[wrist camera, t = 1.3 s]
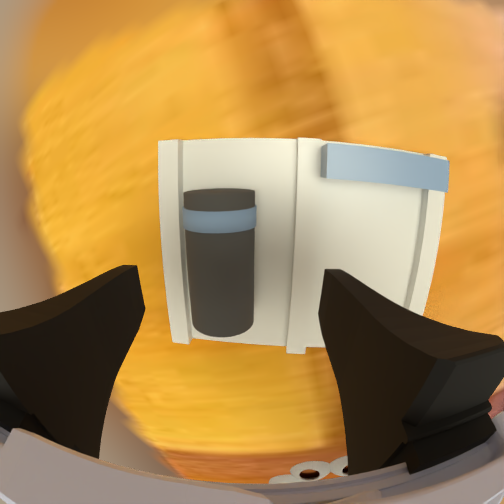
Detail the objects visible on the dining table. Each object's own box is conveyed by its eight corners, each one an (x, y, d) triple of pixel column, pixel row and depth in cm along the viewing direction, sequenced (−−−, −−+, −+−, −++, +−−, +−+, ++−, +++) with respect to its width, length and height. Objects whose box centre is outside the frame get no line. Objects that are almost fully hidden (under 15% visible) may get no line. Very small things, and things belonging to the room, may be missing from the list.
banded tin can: (265, 313, 21) (235, 345, 17) (213, 300, 23) (177, 326, 19) (268, 189, 18) (233, 196, 14) (209, 187, 20) (166, 194, 16)
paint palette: (243, 473, 32) (241, 483, 30) (371, 435, 27) (374, 447, 25) (303, 507, 35) (303, 515, 33) (403, 477, 30) (405, 485, 28)
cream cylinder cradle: (404, 340, 22) (421, 370, 18) (179, 330, 24) (161, 360, 20) (435, 157, 17) (466, 157, 13) (168, 142, 20) (140, 138, 15)
